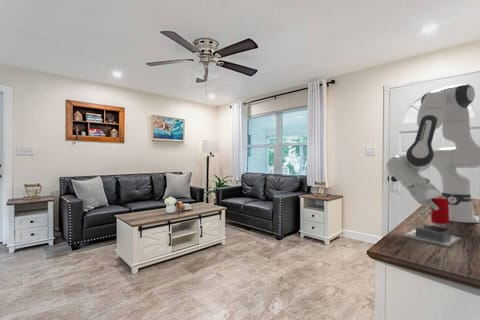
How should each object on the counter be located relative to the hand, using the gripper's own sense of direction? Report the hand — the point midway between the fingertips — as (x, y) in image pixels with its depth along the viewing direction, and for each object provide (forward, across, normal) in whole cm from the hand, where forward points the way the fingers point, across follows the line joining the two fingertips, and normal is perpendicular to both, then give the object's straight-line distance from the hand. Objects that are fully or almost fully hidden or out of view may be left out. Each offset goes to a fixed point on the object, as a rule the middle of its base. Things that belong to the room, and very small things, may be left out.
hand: (441, 208), depth 109 cm
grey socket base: (+8, -13, +7) cm, 17 cm away
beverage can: (+5, 0, +5) cm, 7 cm away
